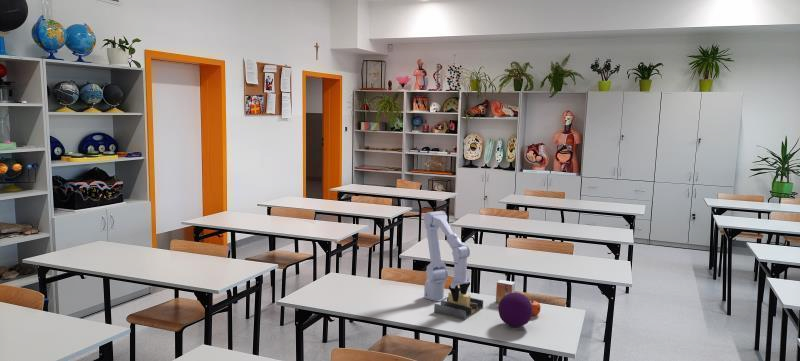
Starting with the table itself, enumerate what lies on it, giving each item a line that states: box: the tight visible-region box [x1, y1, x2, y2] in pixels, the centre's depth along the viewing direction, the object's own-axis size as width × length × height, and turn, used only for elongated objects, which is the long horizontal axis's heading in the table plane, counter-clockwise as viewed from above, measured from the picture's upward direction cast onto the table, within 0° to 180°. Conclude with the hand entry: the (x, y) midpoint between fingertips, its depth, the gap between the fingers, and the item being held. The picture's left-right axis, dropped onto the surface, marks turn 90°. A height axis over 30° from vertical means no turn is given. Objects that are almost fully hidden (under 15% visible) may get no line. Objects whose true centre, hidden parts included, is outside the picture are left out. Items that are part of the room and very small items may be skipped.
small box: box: [495, 279, 516, 304], centre depth 285 cm, size 8×6×10 cm
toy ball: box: [497, 291, 533, 328], centre depth 254 cm, size 15×15×15 cm
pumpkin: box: [530, 299, 542, 317], centre depth 269 cm, size 8×8×7 cm
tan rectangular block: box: [447, 291, 471, 307], centre depth 272 cm, size 10×3×7 cm, turn 56°
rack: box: [433, 296, 484, 321], centre depth 272 cm, size 16×19×4 cm
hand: (459, 299), depth 272 cm, fingers open, 7 cm apart
